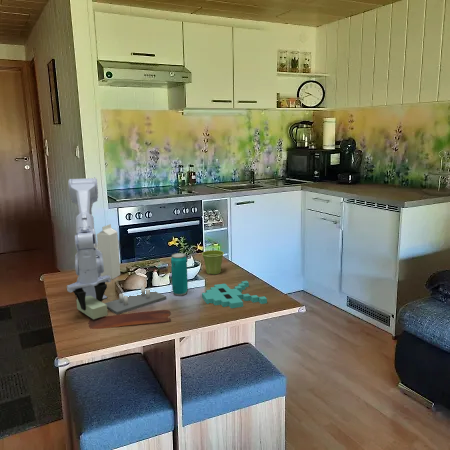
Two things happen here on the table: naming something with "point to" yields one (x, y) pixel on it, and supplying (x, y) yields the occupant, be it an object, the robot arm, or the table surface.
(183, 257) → the beverage can
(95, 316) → the pale green block
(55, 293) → the table surface
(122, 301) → the peg rack
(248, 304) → the table surface
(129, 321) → the wooden tablet
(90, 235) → the robot arm
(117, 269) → the milk
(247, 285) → the alien figure
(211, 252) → the plant pot
